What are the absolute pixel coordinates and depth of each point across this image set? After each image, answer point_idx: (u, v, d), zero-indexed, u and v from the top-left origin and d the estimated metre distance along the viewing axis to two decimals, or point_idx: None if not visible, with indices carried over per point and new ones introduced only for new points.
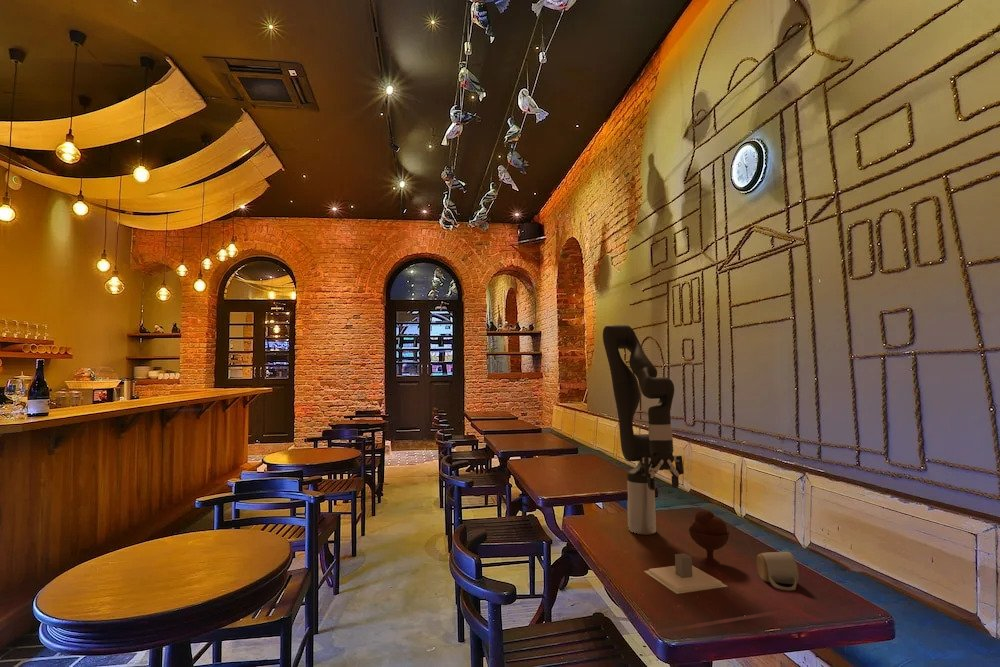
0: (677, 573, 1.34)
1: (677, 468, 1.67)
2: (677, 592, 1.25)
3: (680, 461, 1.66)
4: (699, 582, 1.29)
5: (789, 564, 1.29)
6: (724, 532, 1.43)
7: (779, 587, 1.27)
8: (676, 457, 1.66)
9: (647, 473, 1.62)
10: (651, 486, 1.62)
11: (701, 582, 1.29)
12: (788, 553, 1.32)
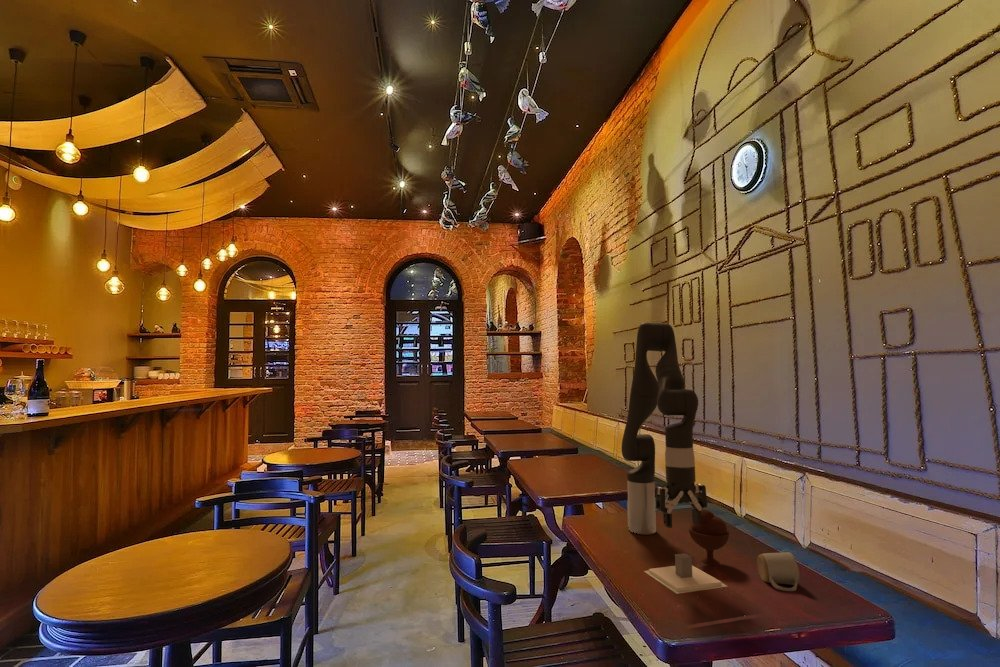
0: (677, 573, 1.34)
1: (699, 500, 1.38)
2: (677, 592, 1.25)
3: (703, 492, 1.36)
4: (699, 582, 1.29)
5: (789, 565, 1.29)
6: (724, 532, 1.43)
7: (780, 588, 1.26)
8: (698, 487, 1.37)
9: (663, 507, 1.32)
10: (668, 523, 1.33)
11: (701, 582, 1.29)
12: (789, 554, 1.32)
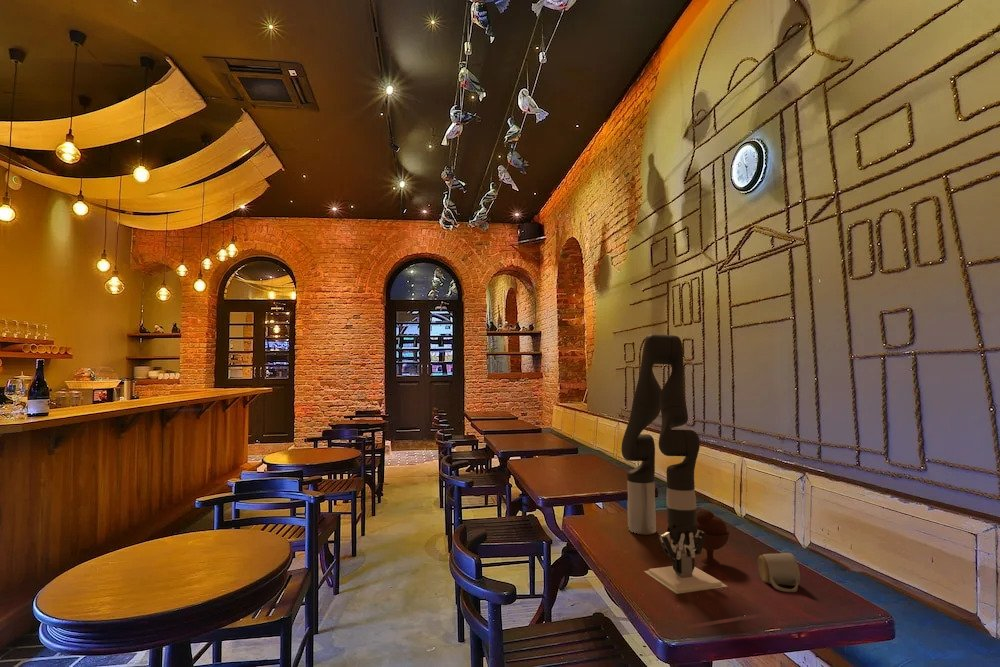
0: (677, 573, 1.34)
1: (694, 545, 1.36)
2: (677, 592, 1.25)
3: (702, 539, 1.35)
4: (699, 582, 1.29)
5: (790, 566, 1.29)
6: (724, 532, 1.43)
7: (780, 589, 1.26)
8: (699, 532, 1.36)
9: (673, 553, 1.32)
10: (677, 569, 1.33)
11: (701, 582, 1.29)
12: (789, 554, 1.31)
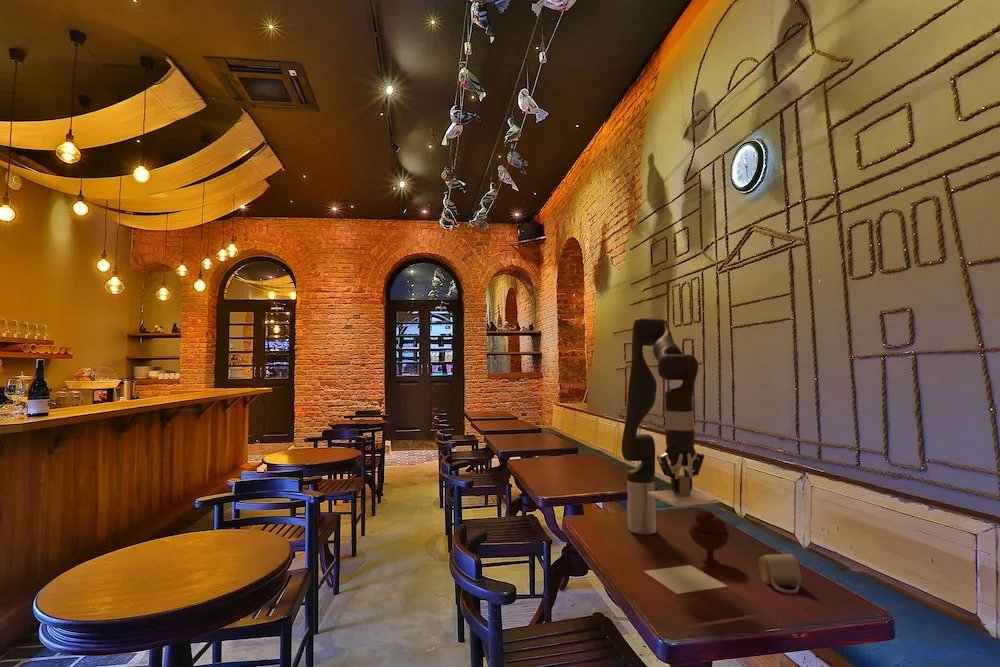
0: (675, 493, 1.37)
1: (692, 468, 1.39)
2: (677, 592, 1.25)
3: (700, 460, 1.37)
4: (697, 499, 1.32)
5: (791, 567, 1.28)
6: (724, 532, 1.43)
7: (781, 590, 1.25)
8: (697, 454, 1.38)
9: (671, 473, 1.35)
10: (675, 488, 1.35)
11: (699, 499, 1.32)
12: (791, 555, 1.31)
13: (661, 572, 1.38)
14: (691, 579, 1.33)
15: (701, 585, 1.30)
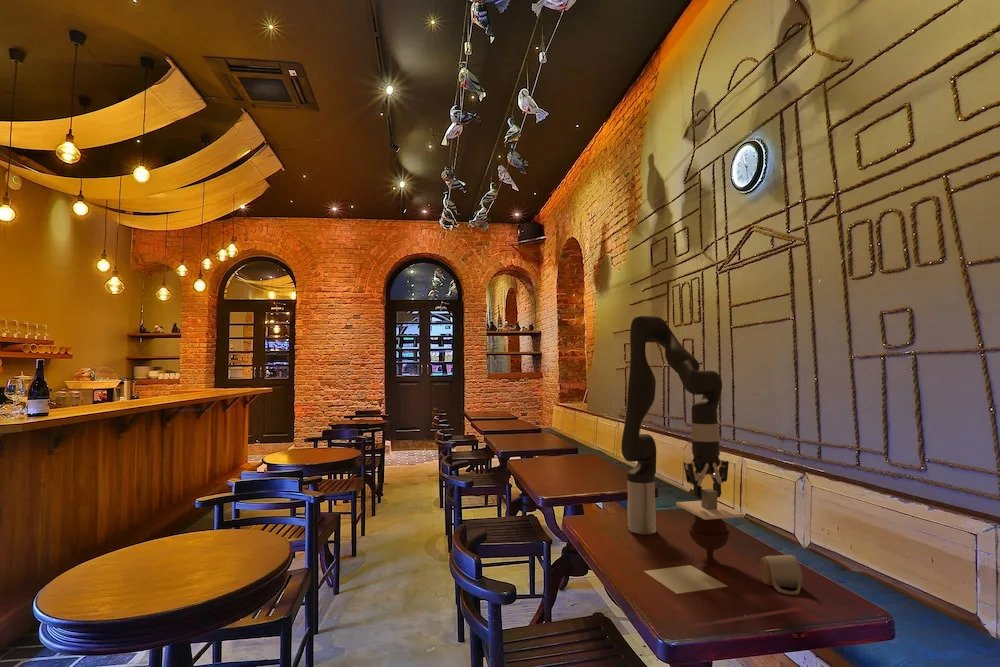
0: (703, 506, 1.47)
1: (720, 474, 1.50)
2: (677, 592, 1.25)
3: (726, 467, 1.48)
4: (724, 513, 1.42)
5: (792, 568, 1.27)
6: (724, 532, 1.43)
7: (783, 591, 1.24)
8: (722, 462, 1.49)
9: (694, 480, 1.45)
10: (698, 494, 1.45)
11: (725, 513, 1.42)
12: (792, 556, 1.30)
13: (661, 572, 1.38)
14: (691, 579, 1.33)
15: (701, 585, 1.30)
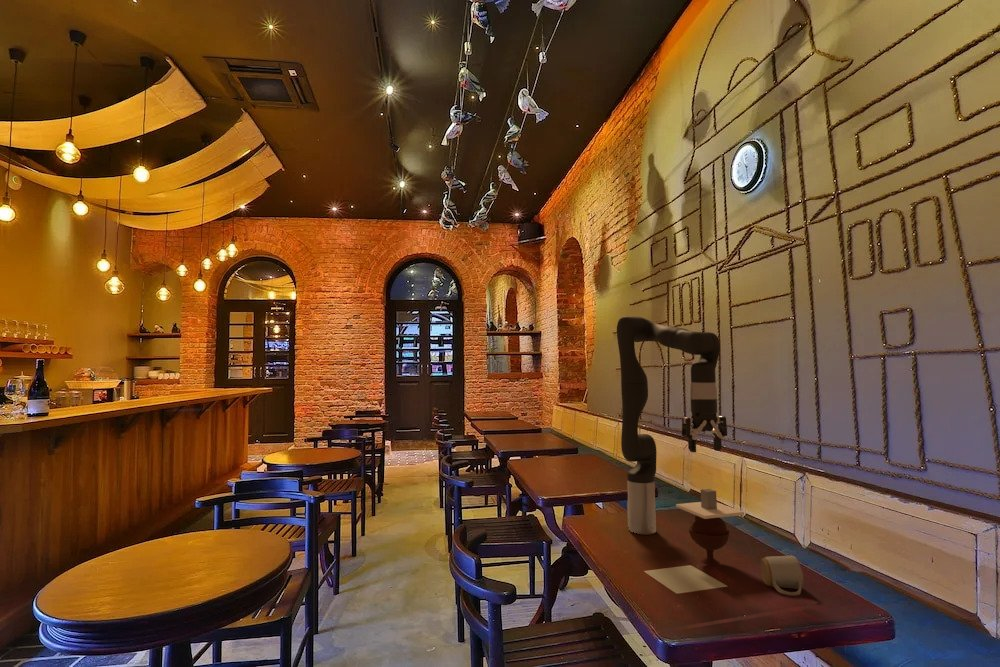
0: (703, 506, 1.47)
1: (720, 430, 1.56)
2: (677, 592, 1.25)
3: (724, 422, 1.54)
4: (723, 512, 1.42)
5: (793, 568, 1.27)
6: (724, 532, 1.43)
7: (783, 592, 1.24)
8: (720, 418, 1.54)
9: (688, 434, 1.50)
10: (692, 448, 1.51)
11: (725, 512, 1.42)
12: (792, 557, 1.29)
13: (661, 572, 1.38)
14: (691, 579, 1.33)
15: (701, 585, 1.30)
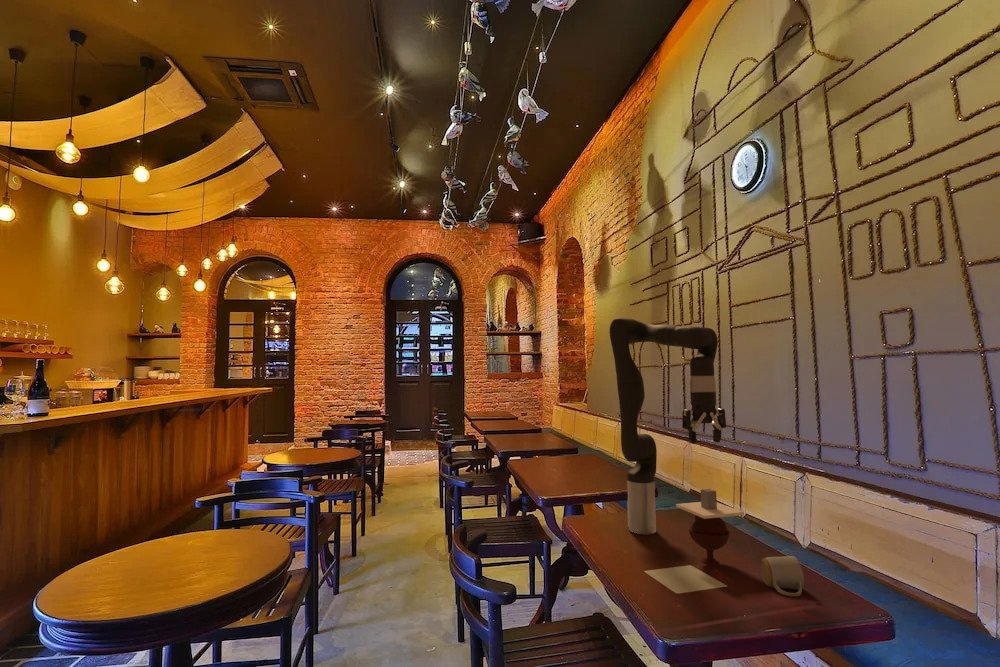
0: (703, 506, 1.47)
1: (719, 422, 1.60)
2: (677, 592, 1.25)
3: (723, 414, 1.59)
4: (723, 512, 1.42)
5: (794, 569, 1.26)
6: (724, 532, 1.43)
7: (784, 593, 1.23)
8: (718, 410, 1.59)
9: (689, 426, 1.55)
10: (693, 439, 1.55)
11: (725, 512, 1.42)
12: (793, 558, 1.29)
13: (661, 572, 1.38)
14: (691, 579, 1.33)
15: (701, 585, 1.30)
